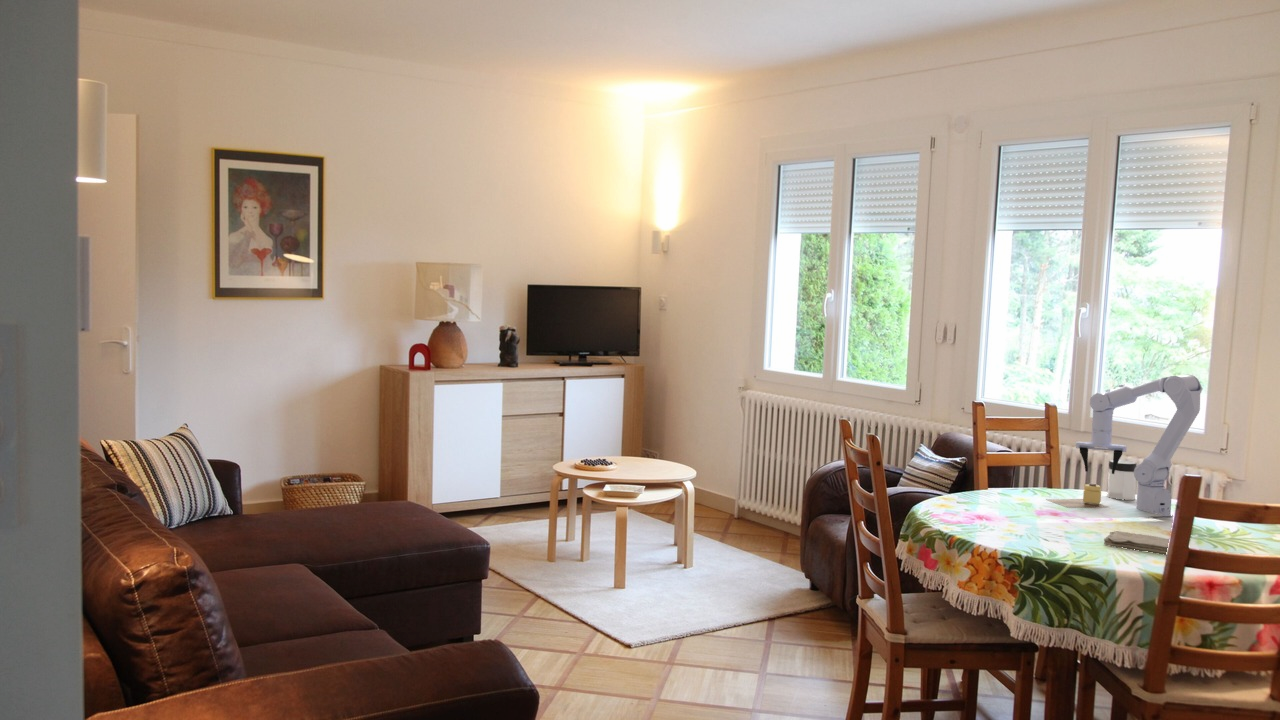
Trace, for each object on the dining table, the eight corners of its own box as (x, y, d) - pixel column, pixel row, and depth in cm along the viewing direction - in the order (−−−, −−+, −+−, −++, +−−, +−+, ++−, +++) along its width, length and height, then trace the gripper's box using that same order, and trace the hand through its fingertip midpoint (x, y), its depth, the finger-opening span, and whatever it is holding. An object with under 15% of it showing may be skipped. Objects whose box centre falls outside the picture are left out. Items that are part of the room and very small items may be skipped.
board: (1109, 510, 295) (1109, 507, 295) (1067, 511, 293) (1067, 507, 293) (1085, 502, 307) (1085, 498, 307) (1045, 503, 305) (1045, 499, 305)
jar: (1105, 494, 321) (1107, 458, 320) (1132, 496, 318) (1134, 460, 318) (1108, 499, 313) (1110, 462, 312) (1136, 501, 310) (1138, 464, 309)
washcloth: (1110, 538, 262) (1110, 527, 262) (1184, 549, 252) (1185, 538, 252) (1102, 547, 253) (1102, 536, 252) (1179, 559, 242) (1180, 547, 242)
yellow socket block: (1084, 499, 302) (1085, 481, 301) (1100, 501, 300) (1101, 483, 299) (1083, 501, 298) (1084, 484, 298) (1099, 503, 296) (1100, 486, 295)
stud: (1101, 505, 297) (1102, 493, 297) (1089, 505, 296) (1090, 493, 296) (1093, 502, 301) (1094, 490, 301) (1082, 502, 300) (1082, 490, 300)
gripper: (1076, 429, 305) (1074, 471, 306) (1127, 433, 298) (1125, 476, 299) (1077, 427, 311) (1075, 468, 312) (1127, 430, 305) (1124, 472, 306)
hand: (1099, 472), depth 306 cm, fingers open, 7 cm apart
